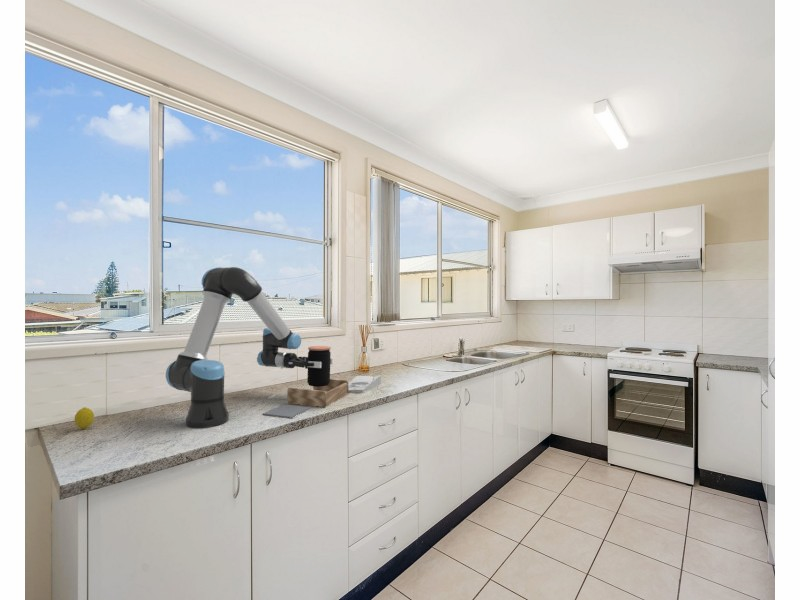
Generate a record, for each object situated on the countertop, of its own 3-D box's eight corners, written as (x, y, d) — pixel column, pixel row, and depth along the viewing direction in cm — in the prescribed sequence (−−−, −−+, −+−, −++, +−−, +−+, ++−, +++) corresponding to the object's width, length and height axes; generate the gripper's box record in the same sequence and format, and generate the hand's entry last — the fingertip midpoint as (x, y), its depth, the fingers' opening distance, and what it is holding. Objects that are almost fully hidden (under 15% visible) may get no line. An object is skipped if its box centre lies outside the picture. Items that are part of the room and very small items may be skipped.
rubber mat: (292, 418, 155) (292, 416, 155) (262, 414, 159) (262, 413, 159) (310, 408, 169) (310, 407, 169) (282, 405, 173) (282, 404, 173)
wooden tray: (348, 394, 194) (348, 380, 194) (325, 407, 171) (325, 391, 171) (314, 390, 200) (314, 377, 200) (287, 403, 176) (287, 388, 176)
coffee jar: (332, 382, 190) (333, 346, 190) (326, 387, 180) (327, 349, 180) (311, 381, 191) (312, 345, 191) (304, 386, 181) (304, 348, 181)
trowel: (352, 396, 191) (352, 385, 191) (332, 391, 201) (332, 380, 201) (390, 386, 212) (390, 377, 212) (370, 382, 222) (370, 373, 222)
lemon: (91, 425, 145) (91, 404, 145) (95, 428, 141) (95, 407, 141) (72, 429, 141) (72, 407, 141) (76, 432, 137) (76, 410, 137)
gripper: (299, 364, 202) (337, 367, 195) (272, 371, 180) (314, 375, 173) (299, 350, 202) (337, 352, 195) (272, 355, 180) (314, 358, 173)
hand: (326, 363), depth 184 cm, fingers closed on coffee jar, 11 cm apart
